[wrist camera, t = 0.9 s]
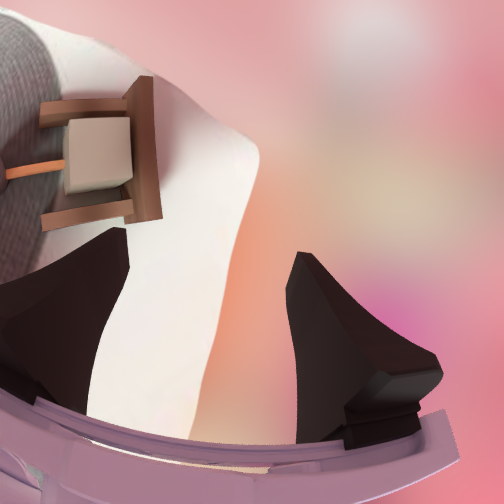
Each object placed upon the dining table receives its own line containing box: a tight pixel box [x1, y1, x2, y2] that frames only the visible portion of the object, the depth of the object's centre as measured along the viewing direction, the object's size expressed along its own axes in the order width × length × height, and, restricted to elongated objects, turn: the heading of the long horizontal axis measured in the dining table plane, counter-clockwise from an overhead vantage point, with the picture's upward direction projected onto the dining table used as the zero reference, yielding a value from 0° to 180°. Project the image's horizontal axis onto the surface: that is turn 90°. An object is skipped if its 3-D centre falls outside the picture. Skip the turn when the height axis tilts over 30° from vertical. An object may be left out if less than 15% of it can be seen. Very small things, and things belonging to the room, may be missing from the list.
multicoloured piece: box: [0, 117, 133, 195], centre depth 15 cm, size 14×5×6 cm, turn 97°
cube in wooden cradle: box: [39, 76, 163, 232], centre depth 17 cm, size 9×12×6 cm
